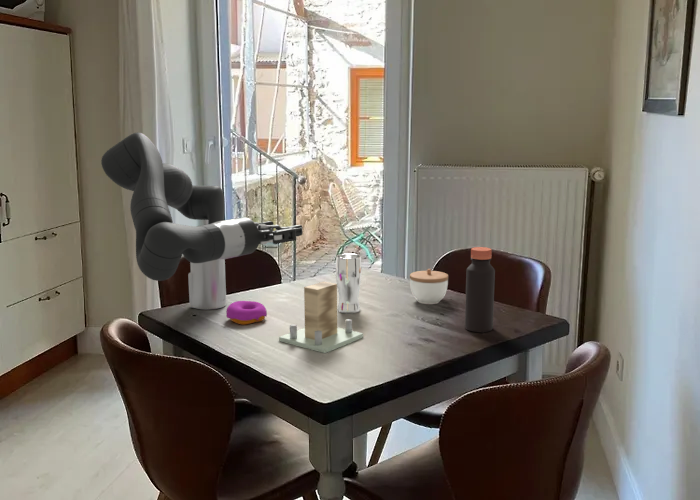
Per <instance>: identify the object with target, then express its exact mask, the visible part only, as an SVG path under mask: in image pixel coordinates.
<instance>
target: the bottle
mask: <svg viewBox="0 0 700 500" xmlns="http://www.w3.org/2000/svg"><path fill="white" fill-rule="evenodd" d="M470 248H471V249H470V260H471V264H469V265H468V267H467V268H466V270H465V271H466V273H465V274H466V276H465V277H466V278H465V307H464V308H465V311H464V312H465V314H464V327H465V329H466V330H467V331H469V332H473V333H488V332H490V331H492V330H493V328H494V309H495V304H494V303H495V283H496V282H495V280H496V277H495V276H496V269H495V268H494V267H493V266H492V264H491V261H492V251H493V249H492V248H490V247H485V246H483V247H482V246H476V247H470Z"/></svg>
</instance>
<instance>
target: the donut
mask: <svg viewBox="0 0 700 500" xmlns="http://www.w3.org/2000/svg"><path fill="white" fill-rule="evenodd" d="M225 314H226V318H227V319H229V320H230V321H231V322H233V323H235V324H238V325H241V326H247V325H250V324H253V323H254V324H255V323H257V322H259V323H260V322H261V321H264V320H265V318H266V317H267V316H268V313H267V308H266V307H265V305H264V304H263V303H261V302H257V301H254V300H253V301H252V300H236V301H233V302H231V303H230V304H229V305H228V306H227V308H226V313H225Z"/></svg>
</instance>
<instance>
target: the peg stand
mask: <svg viewBox="0 0 700 500" xmlns="http://www.w3.org/2000/svg"><path fill="white" fill-rule="evenodd" d="M297 328H298V325H297V324H290V325H289V333H286V334H283V335H279V336H278V341H279V342H281V343H286V344H289V345H293V346H296V347H300V348H304V349H307V350H312V351H315V352H319V353H322V354H323V353H324V354H326V353H329V352H332V351H333V350H336V349H339V348H341V347H343V346H345V345H348V344H351V343H353V342H355V341H359V339H362V338H364V332H359V331H354V330H353V319H349V318H347V319H345V320H344V328H341V327H339V326H337V333H336V334H334V335H331V336H328V337H326V338H323V339H322V331H315V340H314V339H310V338H306V337H305V327H303V328H299V329H297Z"/></svg>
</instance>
